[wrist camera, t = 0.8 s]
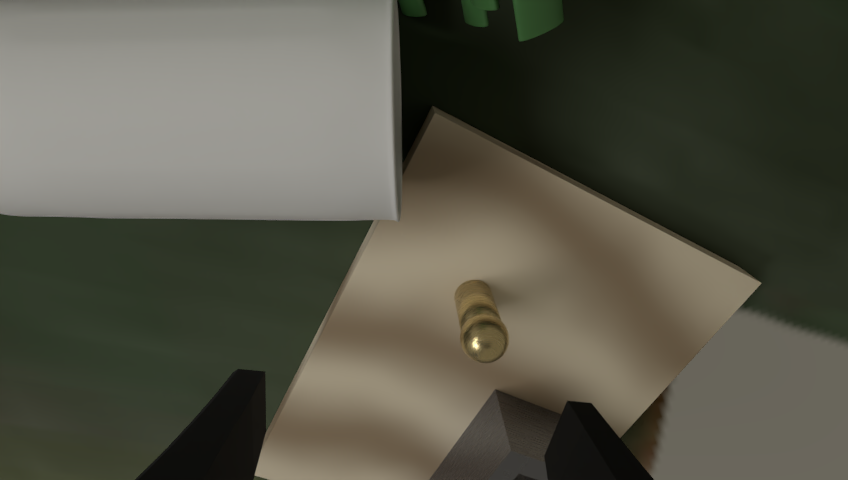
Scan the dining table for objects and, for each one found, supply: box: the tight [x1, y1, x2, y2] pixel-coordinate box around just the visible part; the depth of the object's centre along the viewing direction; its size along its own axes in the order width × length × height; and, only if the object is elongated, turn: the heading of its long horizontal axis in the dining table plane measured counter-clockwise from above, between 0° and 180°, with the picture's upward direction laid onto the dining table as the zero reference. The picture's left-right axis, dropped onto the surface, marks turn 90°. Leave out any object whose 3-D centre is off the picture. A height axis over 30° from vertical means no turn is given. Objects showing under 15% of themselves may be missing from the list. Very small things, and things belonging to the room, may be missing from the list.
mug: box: [0, 0, 402, 222], centre depth 15 cm, size 10×7×12 cm
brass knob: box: [454, 280, 509, 363], centre depth 18 cm, size 2×2×4 cm
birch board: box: [255, 106, 761, 480], centre depth 23 cm, size 20×16×2 cm
